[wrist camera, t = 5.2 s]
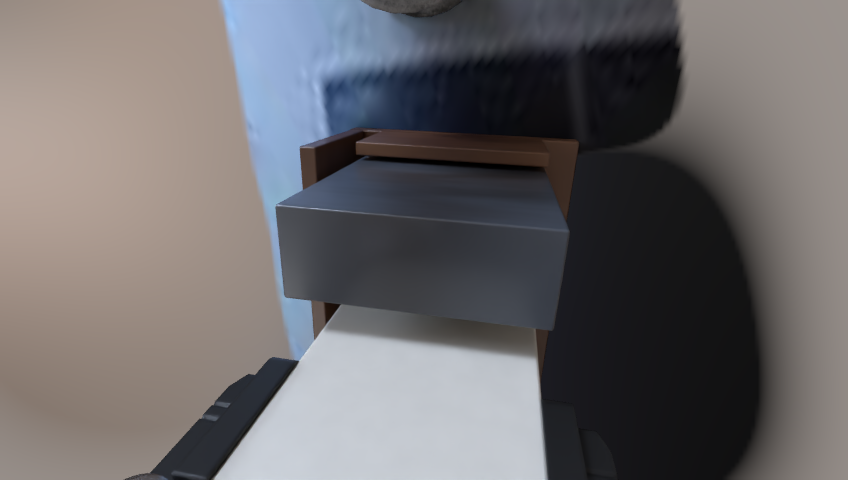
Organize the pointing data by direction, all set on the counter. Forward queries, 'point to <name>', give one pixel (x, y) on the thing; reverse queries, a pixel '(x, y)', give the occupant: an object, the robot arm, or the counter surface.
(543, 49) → the counter surface
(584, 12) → the counter surface
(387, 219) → the book rack
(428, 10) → the stone chess piece
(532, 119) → the counter surface
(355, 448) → the white book
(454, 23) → the counter surface
